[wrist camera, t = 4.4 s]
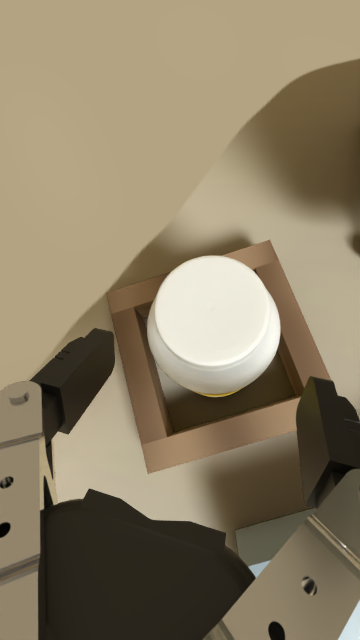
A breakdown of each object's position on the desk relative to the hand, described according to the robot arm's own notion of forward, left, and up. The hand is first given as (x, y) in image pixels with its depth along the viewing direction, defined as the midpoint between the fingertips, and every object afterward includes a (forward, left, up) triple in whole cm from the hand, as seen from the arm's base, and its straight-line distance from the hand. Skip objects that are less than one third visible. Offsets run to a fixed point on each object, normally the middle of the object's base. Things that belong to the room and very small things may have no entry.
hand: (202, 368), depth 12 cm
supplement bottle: (-1, -2, -8) cm, 8 cm away
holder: (-1, -2, -8) cm, 8 cm away
